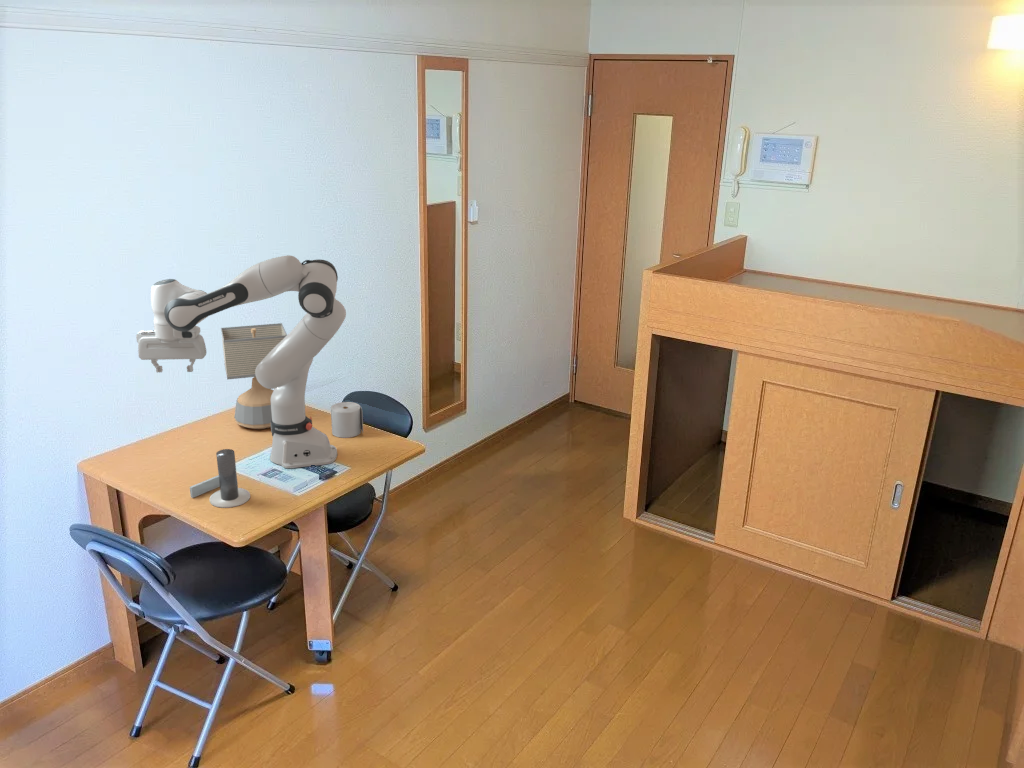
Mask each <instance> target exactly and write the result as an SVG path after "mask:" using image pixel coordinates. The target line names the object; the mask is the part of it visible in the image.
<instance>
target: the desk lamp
mask: <svg viewBox="0 0 1024 768" xmlns="http://www.w3.org/2000/svg"><path fill="white" fill-rule="evenodd" d="M284 327H285V326H284V325H283V323H281V322H280V323H266V324H265V323H264V324H254V325H253V324H252V325H241V326H230V327H229V326H228V327H220V331H221V332H220V333H221V340H222V350H223V359H224V360H223V362H224V371H225V375H226V380H234V379H235V380H237V379H245V378H252V379H251V388H249V389H248V390H246V391H244V392H243V393H241V394H240V395H238V397H237V399H236V402H235V409H234V410H235V411H234V417H233V418H234V421H235V423H236V424H237V425H239V426H241V427H244V428H248V429H252V430H264V429H271V419H272V413H271V395H272V393H273V391H274V389H268V388H265V387H263V386H262V385H261V384H260V383H259V382H258V380H257V378H256V375H255V370H256V367H257V365H258V364H259V363H260V362H261V361H262V360H263V359H264V358H265V357H266V355H267V354H268V353H269V352H270V351H271V350H272V349H273V348H274V347H275V346H276V345H277V344H278V343H279V342H280V341H282V340H283V339H284V338H285V337H286V336H287V335H288V334H287V331H286V329H285V328H284Z"/></svg>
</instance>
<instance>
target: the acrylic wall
mask: <svg viewBox="0 0 1024 768" xmlns="http://www.w3.org/2000/svg"><path fill="white" fill-rule="evenodd" d="M217 488H220V483H219V474H218V475H215V476H213V477H211V478H208V479H206V480H203V481H201V482H198V483H196V484H193V485H191V486H189V493H190V494H189V495H190V498H191V499H192V498H196V497H198V496H200V495H203V494H206V493H209V492H211V491H213V490H215V489H217Z"/></svg>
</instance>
